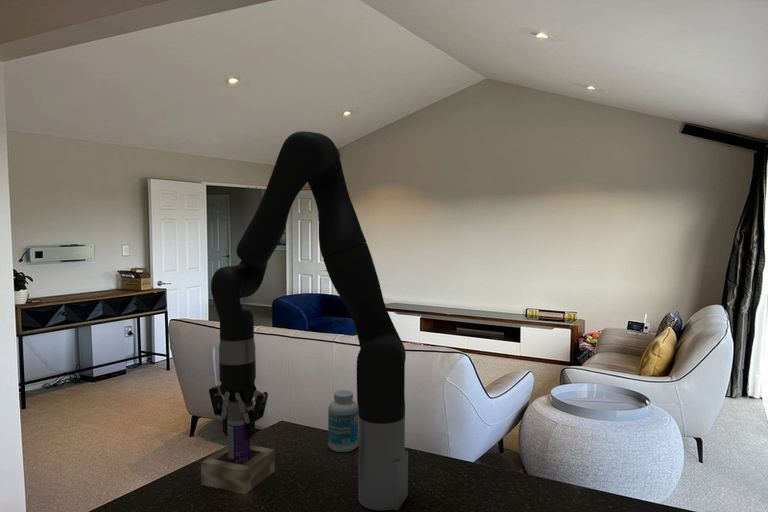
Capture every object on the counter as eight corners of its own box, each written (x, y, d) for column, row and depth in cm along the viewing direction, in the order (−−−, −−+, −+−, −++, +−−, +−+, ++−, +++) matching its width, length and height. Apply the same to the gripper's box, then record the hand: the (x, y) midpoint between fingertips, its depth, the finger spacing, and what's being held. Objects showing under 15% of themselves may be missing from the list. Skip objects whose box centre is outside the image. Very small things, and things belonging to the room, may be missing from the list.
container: (253, 463, 120) (252, 396, 119) (246, 472, 115) (245, 403, 114) (232, 462, 120) (231, 395, 119) (224, 471, 116) (223, 402, 115)
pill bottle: (323, 451, 132) (323, 396, 131) (334, 439, 139) (334, 387, 138) (352, 455, 130) (352, 399, 129) (362, 442, 137) (362, 390, 136)
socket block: (274, 471, 121) (274, 449, 121) (245, 494, 111) (244, 470, 111) (233, 463, 125) (233, 441, 125) (201, 484, 115) (200, 461, 115)
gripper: (275, 357, 117) (276, 435, 118) (221, 351, 122) (222, 426, 124) (255, 366, 110) (256, 448, 111) (198, 359, 115) (200, 438, 117)
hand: (238, 436), depth 117 cm, fingers closed on container, 4 cm apart
